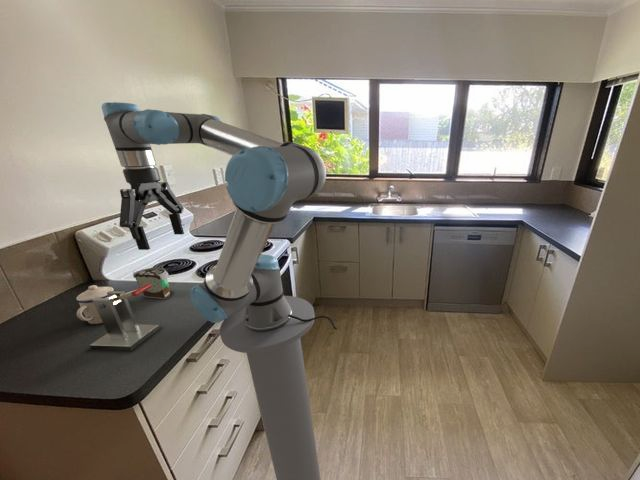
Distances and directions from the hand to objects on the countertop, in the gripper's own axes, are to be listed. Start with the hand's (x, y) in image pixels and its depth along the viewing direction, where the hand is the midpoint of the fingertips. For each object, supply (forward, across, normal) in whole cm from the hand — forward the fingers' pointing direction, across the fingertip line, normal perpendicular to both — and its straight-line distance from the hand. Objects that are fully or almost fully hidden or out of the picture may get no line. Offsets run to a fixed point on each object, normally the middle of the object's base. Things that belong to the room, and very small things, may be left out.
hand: (163, 241), depth 86 cm
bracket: (+27, +12, -10) cm, 31 cm away
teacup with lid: (+27, +3, -27) cm, 38 cm away
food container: (+27, -14, -20) cm, 36 cm away
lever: (+13, +12, -5) cm, 18 cm away
